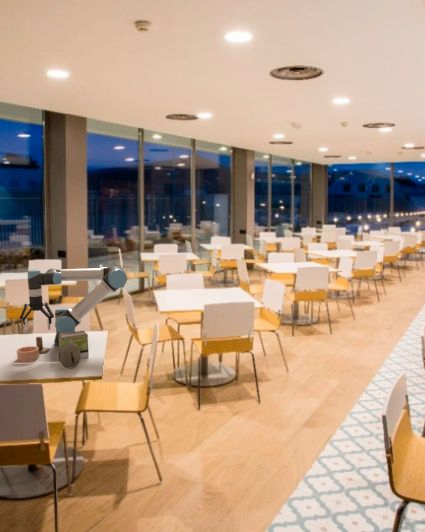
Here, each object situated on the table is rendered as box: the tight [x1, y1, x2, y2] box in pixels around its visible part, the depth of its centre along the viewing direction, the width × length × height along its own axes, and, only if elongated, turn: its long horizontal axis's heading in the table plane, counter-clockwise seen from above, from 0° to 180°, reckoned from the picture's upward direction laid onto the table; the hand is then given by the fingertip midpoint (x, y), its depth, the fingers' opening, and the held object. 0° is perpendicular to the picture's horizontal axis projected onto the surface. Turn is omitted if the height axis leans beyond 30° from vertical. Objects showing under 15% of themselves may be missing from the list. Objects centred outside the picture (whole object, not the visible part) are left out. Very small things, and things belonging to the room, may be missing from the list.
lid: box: [35, 336, 51, 355], centre depth 336 cm, size 11×11×9 cm
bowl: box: [16, 345, 40, 362], centre depth 323 cm, size 12×12×6 cm
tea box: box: [58, 330, 90, 360], centre depth 323 cm, size 15×10×15 cm, turn 117°
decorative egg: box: [58, 341, 81, 369], centre depth 305 cm, size 12×12×15 cm
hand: (37, 329), depth 334 cm, fingers open, 13 cm apart
